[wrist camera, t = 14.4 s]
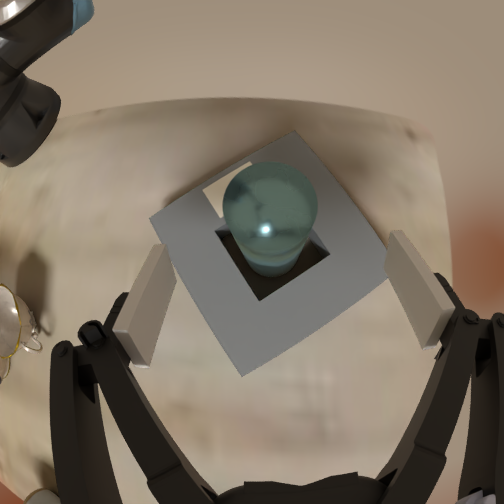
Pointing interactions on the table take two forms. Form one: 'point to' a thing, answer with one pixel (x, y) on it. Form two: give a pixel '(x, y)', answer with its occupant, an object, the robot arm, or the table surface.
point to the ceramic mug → (42, 497)
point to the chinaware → (14, 328)
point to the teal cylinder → (270, 215)
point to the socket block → (293, 293)
